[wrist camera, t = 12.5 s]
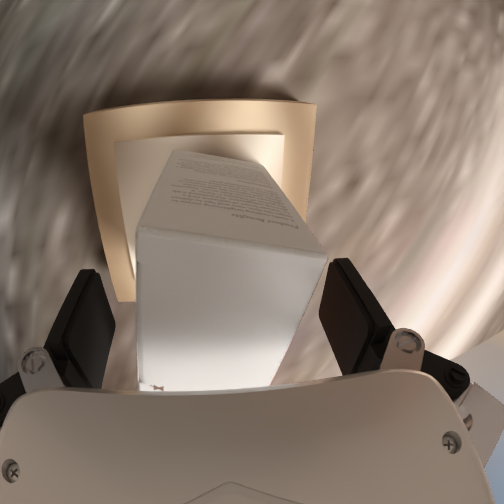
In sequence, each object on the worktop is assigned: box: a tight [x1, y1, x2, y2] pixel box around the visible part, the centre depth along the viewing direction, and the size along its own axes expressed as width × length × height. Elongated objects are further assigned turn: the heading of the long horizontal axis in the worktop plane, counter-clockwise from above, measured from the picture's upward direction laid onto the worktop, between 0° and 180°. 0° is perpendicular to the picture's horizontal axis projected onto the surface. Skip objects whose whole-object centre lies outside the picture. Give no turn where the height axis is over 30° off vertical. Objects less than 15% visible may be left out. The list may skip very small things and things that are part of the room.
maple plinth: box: [83, 99, 317, 302], centre depth 20 cm, size 14×14×4 cm
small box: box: [135, 150, 328, 391], centre depth 14 cm, size 8×6×10 cm
